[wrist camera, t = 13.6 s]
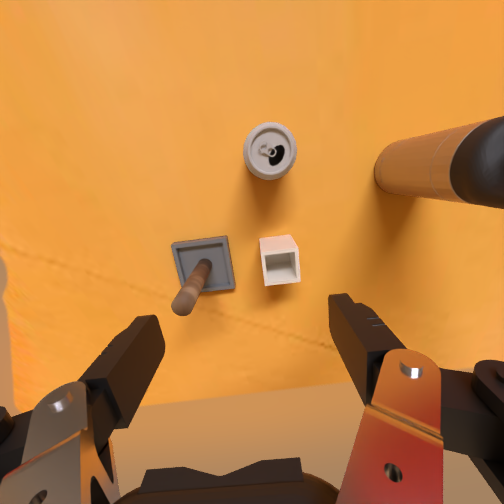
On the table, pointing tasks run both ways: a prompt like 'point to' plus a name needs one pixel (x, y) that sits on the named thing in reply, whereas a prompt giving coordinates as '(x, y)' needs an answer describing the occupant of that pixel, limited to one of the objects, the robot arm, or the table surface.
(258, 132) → the can
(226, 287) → the tray
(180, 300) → the dowel
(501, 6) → the table surface
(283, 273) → the cup
